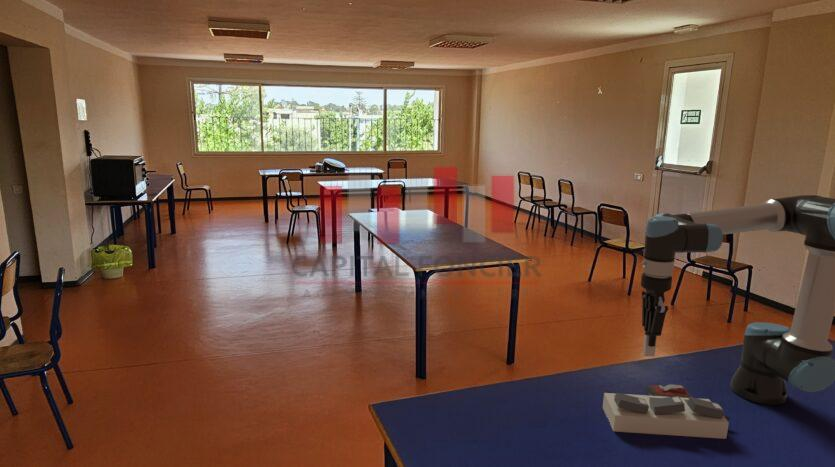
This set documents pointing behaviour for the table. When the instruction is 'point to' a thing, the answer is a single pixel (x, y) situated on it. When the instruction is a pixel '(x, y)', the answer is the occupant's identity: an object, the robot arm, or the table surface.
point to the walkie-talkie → (668, 391)
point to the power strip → (664, 420)
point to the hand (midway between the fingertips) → (648, 355)
